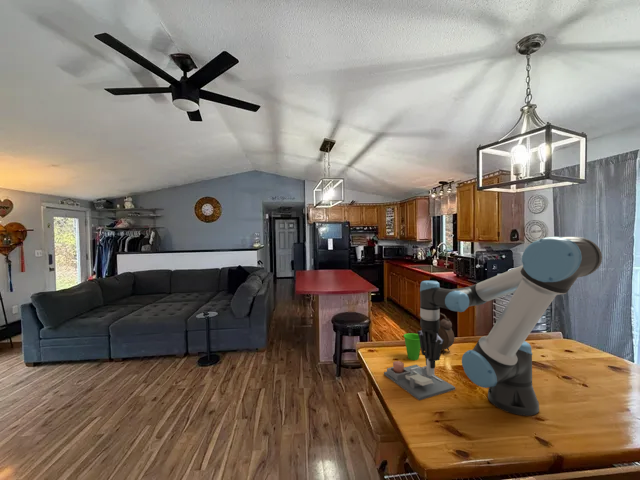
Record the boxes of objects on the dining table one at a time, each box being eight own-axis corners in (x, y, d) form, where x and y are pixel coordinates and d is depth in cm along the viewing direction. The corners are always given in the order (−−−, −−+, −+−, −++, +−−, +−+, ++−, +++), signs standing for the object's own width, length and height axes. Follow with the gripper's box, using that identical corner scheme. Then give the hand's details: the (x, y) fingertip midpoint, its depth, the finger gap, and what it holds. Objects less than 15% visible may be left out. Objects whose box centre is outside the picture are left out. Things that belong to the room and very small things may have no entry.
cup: (419, 363, 135) (419, 340, 135) (401, 359, 140) (400, 337, 140) (425, 357, 142) (425, 335, 142) (407, 353, 148) (407, 332, 148)
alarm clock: (456, 352, 147) (455, 314, 147) (448, 356, 142) (448, 316, 142) (430, 344, 158) (430, 309, 158) (423, 348, 154) (422, 311, 154)
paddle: (432, 382, 110) (432, 379, 110) (422, 385, 108) (422, 381, 108) (415, 375, 119) (414, 372, 119) (405, 378, 117) (405, 374, 117)
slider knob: (432, 377, 120) (432, 367, 120) (426, 378, 118) (426, 369, 118) (426, 373, 122) (426, 364, 122) (421, 375, 121) (421, 366, 121)
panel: (455, 389, 112) (455, 378, 112) (419, 400, 105) (418, 388, 105) (416, 366, 132) (416, 357, 132) (384, 374, 125) (383, 364, 125)
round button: (406, 372, 121) (405, 364, 121) (397, 374, 119) (397, 366, 119) (399, 368, 125) (399, 360, 125) (391, 369, 123) (391, 362, 123)
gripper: (449, 321, 113) (449, 380, 114) (425, 313, 125) (426, 366, 126) (434, 323, 111) (435, 384, 111) (412, 315, 123) (412, 369, 123)
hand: (430, 374), depth 118 cm, fingers closed
